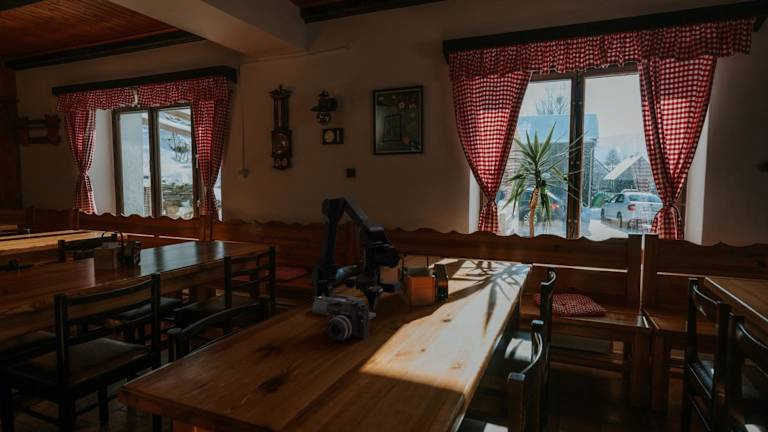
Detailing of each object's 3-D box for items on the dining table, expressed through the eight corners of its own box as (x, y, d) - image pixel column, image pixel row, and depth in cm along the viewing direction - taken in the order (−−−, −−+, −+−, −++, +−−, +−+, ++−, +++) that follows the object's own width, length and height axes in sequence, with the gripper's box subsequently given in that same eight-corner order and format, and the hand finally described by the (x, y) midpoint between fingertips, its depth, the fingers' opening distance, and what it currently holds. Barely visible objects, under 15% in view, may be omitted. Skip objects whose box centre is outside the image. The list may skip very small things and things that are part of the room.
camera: (311, 337, 132) (311, 304, 131) (333, 327, 142) (333, 296, 141) (352, 347, 125) (352, 312, 125) (372, 335, 135) (372, 303, 134)
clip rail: (348, 316, 153) (348, 313, 153) (355, 312, 158) (356, 309, 158) (368, 320, 150) (368, 317, 149) (376, 316, 154) (376, 313, 154)
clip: (344, 312, 154) (344, 299, 154) (351, 309, 158) (351, 296, 158) (358, 314, 152) (358, 301, 152) (364, 311, 155) (364, 298, 155)
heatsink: (310, 311, 158) (310, 297, 157) (327, 305, 166) (327, 291, 166) (346, 318, 151) (347, 304, 150) (362, 311, 159) (362, 297, 159)
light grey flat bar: (319, 299, 160) (319, 297, 160) (323, 297, 162) (323, 296, 162) (351, 304, 154) (351, 302, 154) (355, 302, 156) (355, 300, 156)
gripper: (335, 265, 147) (335, 311, 149) (386, 270, 139) (386, 320, 140) (353, 260, 157) (353, 304, 158) (402, 264, 149) (401, 311, 150)
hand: (372, 309), depth 151 cm, fingers closed
